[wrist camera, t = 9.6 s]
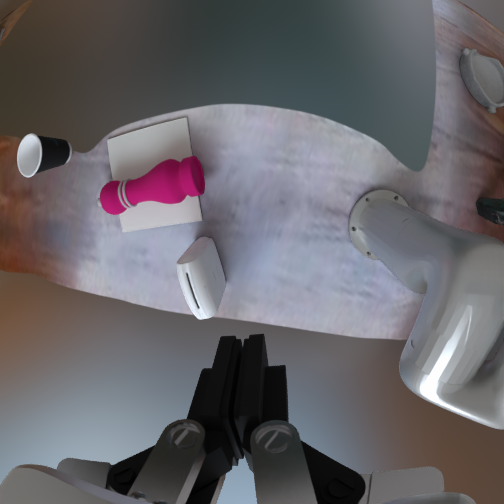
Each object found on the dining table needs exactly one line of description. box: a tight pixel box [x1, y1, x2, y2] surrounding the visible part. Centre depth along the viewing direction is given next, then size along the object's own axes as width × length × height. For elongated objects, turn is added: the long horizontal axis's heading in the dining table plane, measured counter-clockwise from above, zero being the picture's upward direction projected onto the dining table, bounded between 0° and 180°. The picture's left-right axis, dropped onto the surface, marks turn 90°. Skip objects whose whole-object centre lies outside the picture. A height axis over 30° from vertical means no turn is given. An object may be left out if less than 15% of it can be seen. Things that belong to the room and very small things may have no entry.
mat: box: [107, 117, 203, 232], centre depth 45 cm, size 16×18×1 cm
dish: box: [460, 48, 504, 113], centre depth 30 cm, size 14×14×5 cm
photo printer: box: [177, 237, 226, 319], centre depth 44 cm, size 10×4×12 cm, turn 14°
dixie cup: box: [17, 134, 72, 177], centre depth 39 cm, size 8×8×11 cm
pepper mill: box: [97, 156, 205, 215], centre depth 42 cm, size 7×7×20 cm
